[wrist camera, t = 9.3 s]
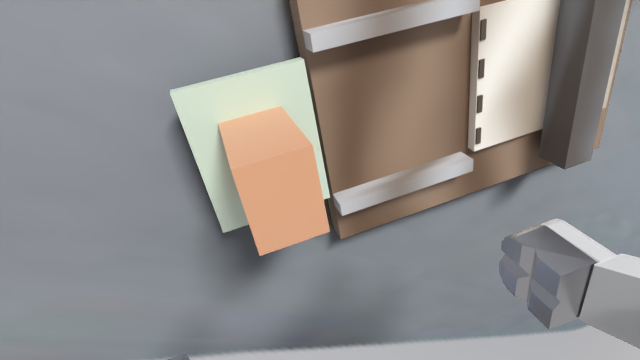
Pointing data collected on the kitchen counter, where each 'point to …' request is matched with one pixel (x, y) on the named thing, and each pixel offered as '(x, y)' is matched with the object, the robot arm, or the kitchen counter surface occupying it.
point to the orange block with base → (259, 152)
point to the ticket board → (451, 95)
